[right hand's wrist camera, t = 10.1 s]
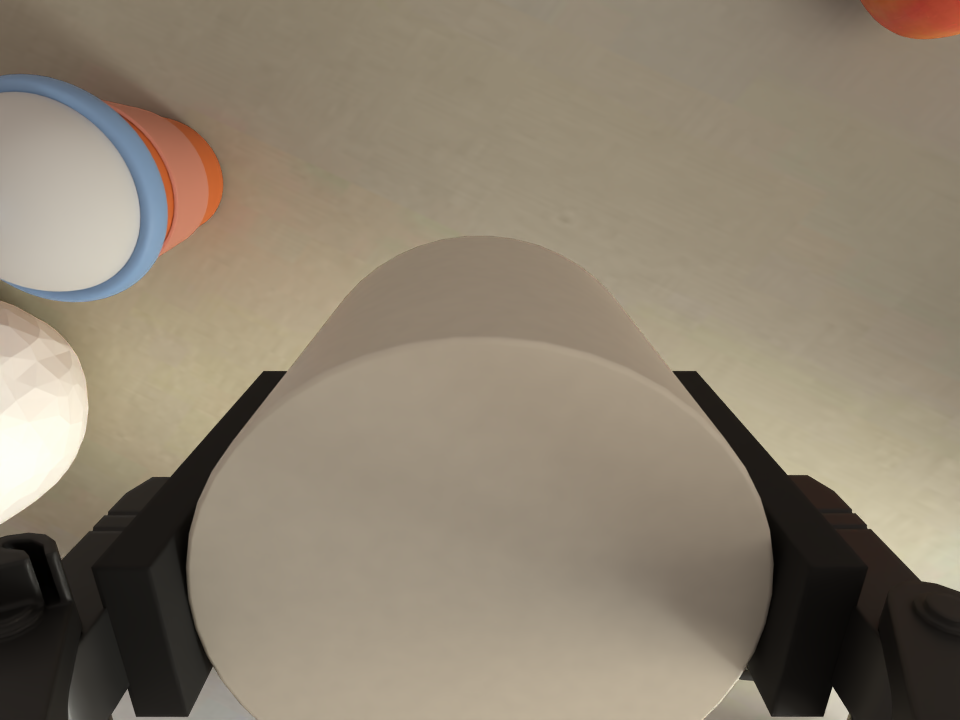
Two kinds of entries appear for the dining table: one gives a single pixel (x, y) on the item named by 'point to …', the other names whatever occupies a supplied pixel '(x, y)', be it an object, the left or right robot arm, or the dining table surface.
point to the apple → (917, 17)
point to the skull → (36, 408)
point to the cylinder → (479, 512)
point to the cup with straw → (93, 189)
